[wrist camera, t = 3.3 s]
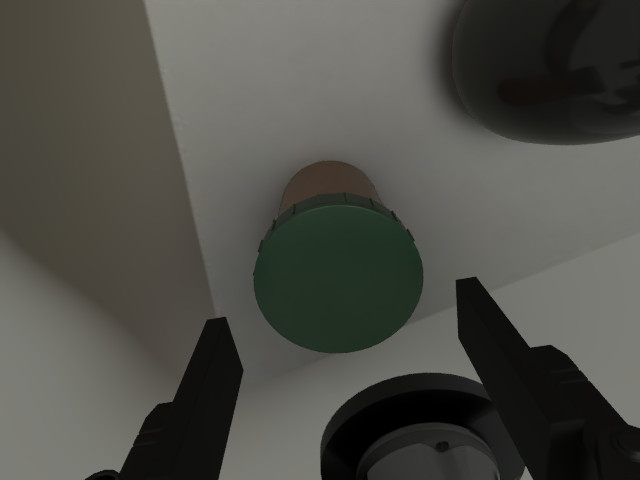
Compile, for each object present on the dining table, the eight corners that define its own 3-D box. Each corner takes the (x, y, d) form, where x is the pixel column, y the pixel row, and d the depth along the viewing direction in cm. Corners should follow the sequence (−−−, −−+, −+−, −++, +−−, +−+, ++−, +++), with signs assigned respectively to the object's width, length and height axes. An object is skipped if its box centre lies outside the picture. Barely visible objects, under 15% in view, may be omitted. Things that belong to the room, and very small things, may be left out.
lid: (326, 355, 23) (327, 379, 21) (224, 259, 20) (216, 277, 19) (445, 274, 21) (457, 293, 19) (349, 156, 18) (352, 165, 17)
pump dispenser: (624, -47, 23) (1095, -220, 9) (567, 135, 27) (832, 207, 13) (451, -62, 23) (669, -267, 9) (420, 125, 27) (535, 188, 13)
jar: (324, 270, 31) (328, 362, 21) (260, 204, 29) (233, 273, 19) (398, 214, 29) (440, 287, 20) (337, 139, 27) (349, 179, 17)
